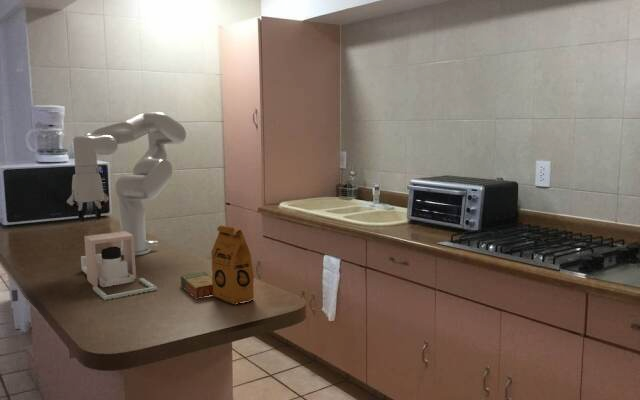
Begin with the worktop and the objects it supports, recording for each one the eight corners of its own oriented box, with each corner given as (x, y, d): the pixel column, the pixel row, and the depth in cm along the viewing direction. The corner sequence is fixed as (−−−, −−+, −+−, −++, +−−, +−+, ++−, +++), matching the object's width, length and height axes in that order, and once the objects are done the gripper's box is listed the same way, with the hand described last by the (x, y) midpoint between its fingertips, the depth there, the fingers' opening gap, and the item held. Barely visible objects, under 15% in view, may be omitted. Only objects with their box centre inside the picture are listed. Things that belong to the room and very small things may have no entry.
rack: (111, 265, 208) (110, 252, 207) (134, 281, 187) (133, 267, 186) (81, 270, 202) (80, 256, 201) (102, 287, 181) (101, 272, 180)
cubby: (127, 273, 198) (125, 231, 195) (136, 279, 190) (133, 235, 188) (87, 280, 190) (84, 236, 188) (94, 286, 183) (91, 240, 180)
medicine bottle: (128, 282, 188) (126, 246, 187) (109, 287, 183) (107, 251, 181) (116, 278, 193) (114, 244, 191) (97, 283, 187) (94, 248, 185)
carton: (195, 300, 169) (195, 287, 168) (180, 287, 183) (179, 274, 182) (222, 296, 173) (221, 282, 172) (205, 283, 187) (204, 270, 186)
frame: (143, 280, 189) (143, 277, 189) (157, 290, 178) (157, 287, 178) (92, 289, 179) (92, 286, 179) (104, 300, 169) (104, 296, 169)
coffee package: (230, 308, 161) (227, 232, 157) (208, 298, 170) (206, 226, 167) (259, 301, 167) (257, 228, 164) (237, 291, 176) (235, 222, 173)
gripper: (107, 168, 212) (110, 216, 214) (58, 171, 202) (62, 221, 204) (113, 169, 206) (116, 218, 208) (63, 172, 196) (67, 224, 198)
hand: (89, 219), depth 206 cm, fingers open, 4 cm apart
